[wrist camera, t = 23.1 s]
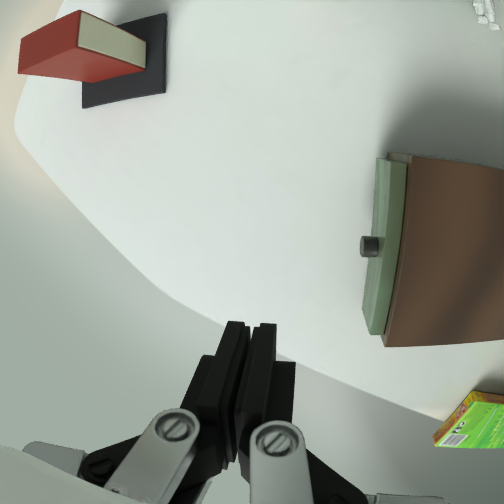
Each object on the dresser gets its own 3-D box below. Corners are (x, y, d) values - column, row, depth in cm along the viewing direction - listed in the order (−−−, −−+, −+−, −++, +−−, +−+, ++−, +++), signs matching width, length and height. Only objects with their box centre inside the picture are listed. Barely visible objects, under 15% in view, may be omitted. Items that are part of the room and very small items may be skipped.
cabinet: (371, 309, 28) (384, 347, 23) (387, 151, 23) (411, 155, 18) (490, 307, 26) (517, 338, 21) (517, 171, 21) (555, 182, 16)
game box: (470, 385, 31) (545, 400, 28) (430, 431, 34) (510, 439, 32) (476, 400, 28) (551, 411, 26) (433, 447, 32) (514, 451, 29)
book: (91, 83, 24) (17, 74, 15) (93, 55, 23) (20, 38, 14) (146, 70, 23) (76, 47, 14) (147, 40, 22) (81, 8, 13)
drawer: (349, 308, 28) (355, 335, 24) (361, 156, 23) (373, 160, 19) (480, 307, 25) (499, 329, 21) (505, 175, 21) (532, 183, 17)
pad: (85, 108, 25) (81, 108, 25) (87, 37, 23) (84, 36, 22) (165, 93, 24) (162, 92, 24) (167, 14, 21) (164, 12, 21)
